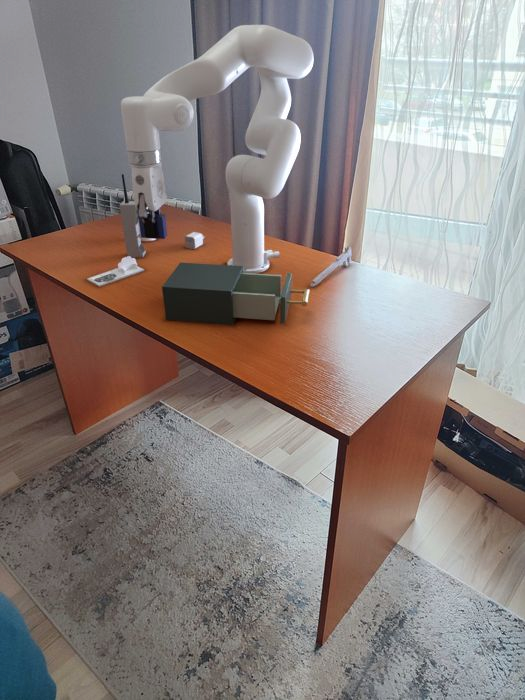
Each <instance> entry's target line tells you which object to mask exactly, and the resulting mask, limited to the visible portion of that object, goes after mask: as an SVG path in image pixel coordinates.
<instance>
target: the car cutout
mask: <svg viewBox="0 0 525 700" xmlns="http://www.w3.org/2000/svg"><path fill="white" fill-rule="evenodd" d="M142 272H145V268H142V267H140V266H138V263H137V259H136V258H131V257H130V256H127V255H126V256H124V257H122V258H121V261H119V262H118V264H117V268H114V269H110V270H108V271H105V272H102V273H99V274H97V275H93V276H89V277H88V278H86V281H87V282H90V283H92V284H93V285H95V286H97V287H99V288H100V287H103V286H106V285H109V284H111V283H115V282H117V281H120V280H122V279H125V278H128V277H131V276H134V275H137V274H139V273H142Z"/></svg>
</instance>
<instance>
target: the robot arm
mask: <svg viewBox="0 0 525 700" xmlns="http://www.w3.org/2000/svg"><path fill="white" fill-rule="evenodd" d="M314 55H315V54H314V51H313V48H312V47H311V44H310V43H309V42H308V41H306V40H305V39H304V38H301V37H299V36H297V35H294V34H291V33H289V32H287V31H284V30H282V29H280V28H277V27H274V26H272V25H268V24H242V25H241V24H240V25H238V26H236V27H234V28H233V29H231V30H229V32H227V34H225V35H224V36H223V37H221V38H220V39H219V40H218V41H217V42H216V43H215V44H213V46H211V47H210V48H209V49H208V50H207V51H206V52H204V53H203V54H202V55H201V56H199V57H197V58H196V59H194V60H192V61H190V62H188V63H186V64H185V65H182V66H181V67H179V68H177V69H175V70H173V71H171V72H170V73H168V74H166V75H165V76H163V77H162V78H160V79H159V80H158V81H157V82H156V83H154V84H153V85H152V86H151V87H150V88H149V89H148V90H146V92H144V93H143V95H137V96H136V95H135V96H126V97H124V98H123V99H121V102H120V111H121V117H122V125H123V132H124V140H125V147H126V155H127V161H128V166H129V167H131V184H132V194H133V201H134V202H135V207H136V209H137V210H138V211H139V216H140V217H141V218H142V220H143V223H144V231H145V237H146V238H153V239H156V240H158V237H159V236H158V227H157V222H155V214H162V211H161V209H162V206H164V205H165V203H167V201H168V196H167V188H166V182H165V175H164V171H163V158H162V157H163V156H162V148H161V140H160V139H161V138H160V132H182V131H184V130H186V129H187V128H189V127H190V126H191V124H192V123H193V120H194V116H195V113H194V112H195V111H194V107H193V105H192V103H191V102H192V101H193V100H196V99H200V98H205V97H210V96H213V95H216V94H219V93H222V92H224V91H225V90H226V89H227V88H228V87H229V86H230V85H231V84H232V83H233V82H234V81H235V80H237V79H238V78H239V77H240V76H241V75H242V74H244V73H245V72H246V71H247V70H248V69H249V68H251V67H253V68H256V71H257V74H258V77H259V80H260V81H259V82H260V93H259V94H260V95H259V98H258V101H257V104H256V106H255V109H254V111H253V114H252V116H251V119H250V121H249V124H248V127H247V128H246V131H245V135H244V136H245V137H244V142H245V146H246V147H247V148H248V150H250V151H251V152H253V153H256V154H259V155H263V156H264V157H263V158H261V157H258V156H254V155H249V154H238V155H235V156H233V157H231V159H229V161H228V162H227V164H226V167H225V172H224V173H225V184H226V188H227V192H228V198H229V208H230V233H231V234H230V235H231V256H232V258H230V259H229V260H228V261H227V262H226V263H227V264H226V265H232V266H243V270H244V273H255V274H261V273H263V272H265V271H267V270H268V269H269V268H270V260H271V259H278V258H280V257H281V254H280V251H279V250H277V251H276V250H275V251H273V250H272V249H268V250H265V203H264V199H267V200H271V199H274V198H276V197H277V196H278V195H279V194H281V192H282V190H283V188H284V187H285V184H286V182H287V180H288V178H289V175H290V173H291V170H292V168H293V166H294V163H295V161H296V159H297V156H298V154H299V151H300V147H301V138H302V137H301V130H300V128H299V126H298V125H297V123H295V122H294V121H292V120H290V119H287V117H288V115H289V112H290V110H291V109H290V108H291V105H292V94H291V89H290V85H289V83H288V79H292V80H300V79H303V78H305V77H306V76H307V75H308V74H309V73H310V72H311V71H312V68H313V65H314V61H315V59H314ZM146 207H148V209H146ZM148 213H149V214H148ZM150 214H151V215H150Z"/></svg>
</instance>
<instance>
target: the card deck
mask: <svg viewBox="0 0 525 700" xmlns="http://www.w3.org/2000/svg"><path fill="white" fill-rule="evenodd" d="M148 214H149V213H148ZM150 215H151V214H150ZM138 218H139V225H140V233H141V238H146V237H145V231H144V223H143V220H142V218H141V217H140V216H138ZM166 218H167V217H166V214H165V213H161V214H155V222H157V227H158V236H159V237H158V238H157V240H158V239H160V240H165V239H166V238H167V237H168V230H167V229H168V227H167V219H166Z"/></svg>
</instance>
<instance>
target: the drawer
mask: <svg viewBox="0 0 525 700" xmlns="http://www.w3.org/2000/svg"><path fill="white" fill-rule="evenodd" d="M292 284H293V274H292V273H291V272H287V273H286V276H285V279H284V282H283V286H282V274H270V273H269V274H268V273H256V274H255V273H241V275H240V278H239V280H238V282H237V284H236V286H235V288H234V290H233V292H232V300H233V317H235V319H237V318H238V319H250V320H266V321H275V320H276V317H277V313H278V309H279V324H280V325H285V324H286V321H287V317H288V313H289V309H290V306H291V305H301V306H302V307H307V306H308V303H309V297H310V291H311V290H310V289H308V288H305V289H292ZM292 294H303V295H302V299H301V300H292Z"/></svg>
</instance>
